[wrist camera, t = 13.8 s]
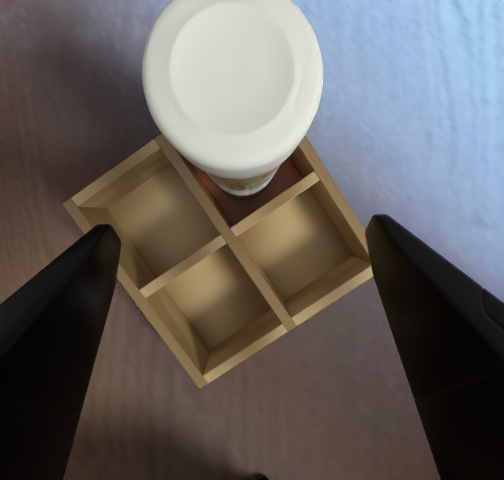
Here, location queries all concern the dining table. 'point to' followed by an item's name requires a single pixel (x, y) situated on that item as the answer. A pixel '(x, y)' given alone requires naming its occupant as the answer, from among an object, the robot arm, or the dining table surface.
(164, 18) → the sprinkles bottle
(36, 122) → the dining table surface
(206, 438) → the dining table surface
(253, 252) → the grid
